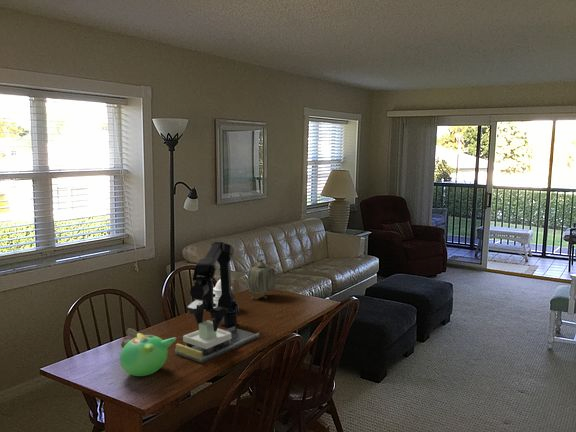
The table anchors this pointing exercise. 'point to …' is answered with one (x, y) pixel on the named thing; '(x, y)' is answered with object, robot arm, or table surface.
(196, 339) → the white square tray
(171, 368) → the table surface
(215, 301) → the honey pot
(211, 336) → the green block
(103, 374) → the table surface
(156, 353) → the green rounded figure
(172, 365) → the table surface
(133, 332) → the grey angular piece
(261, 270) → the tabletop clock
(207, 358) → the track
